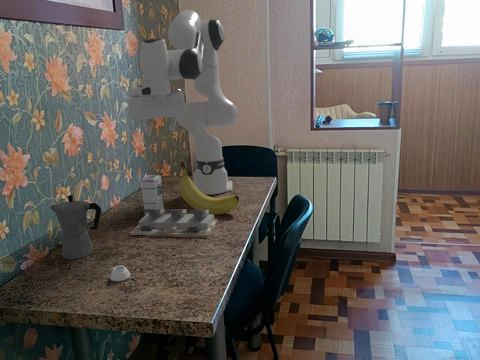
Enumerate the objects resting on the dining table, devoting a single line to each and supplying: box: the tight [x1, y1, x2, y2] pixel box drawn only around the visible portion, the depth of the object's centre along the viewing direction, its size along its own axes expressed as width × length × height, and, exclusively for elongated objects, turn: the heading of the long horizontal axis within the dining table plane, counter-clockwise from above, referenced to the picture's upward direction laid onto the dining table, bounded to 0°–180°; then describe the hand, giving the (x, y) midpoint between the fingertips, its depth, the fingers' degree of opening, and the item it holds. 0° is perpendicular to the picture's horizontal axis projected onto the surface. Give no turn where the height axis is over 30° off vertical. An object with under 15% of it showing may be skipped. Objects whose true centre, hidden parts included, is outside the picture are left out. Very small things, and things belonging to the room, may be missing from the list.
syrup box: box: [140, 174, 165, 217], centre depth 162 cm, size 6×6×14 cm
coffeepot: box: [49, 194, 103, 260], centre depth 128 cm, size 15×9×18 cm, turn 85°
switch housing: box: [138, 213, 215, 229], centre depth 149 cm, size 9×24×2 cm, turn 80°
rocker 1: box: [142, 208, 166, 217], centre depth 149 cm, size 9×4×2 cm, turn 170°
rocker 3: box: [188, 209, 209, 218], centre depth 147 cm, size 9×4×2 cm, turn 170°
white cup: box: [109, 264, 131, 282], centre depth 113 cm, size 5×3×5 cm
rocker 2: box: [165, 208, 188, 217], centre depth 148 cm, size 9×4×2 cm, turn 170°
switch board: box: [129, 218, 219, 239], centre depth 147 cm, size 15×26×2 cm, turn 80°
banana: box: [178, 160, 240, 215], centre depth 159 cm, size 23×6×20 cm, turn 78°
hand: (160, 131), depth 145 cm, fingers open, 8 cm apart
